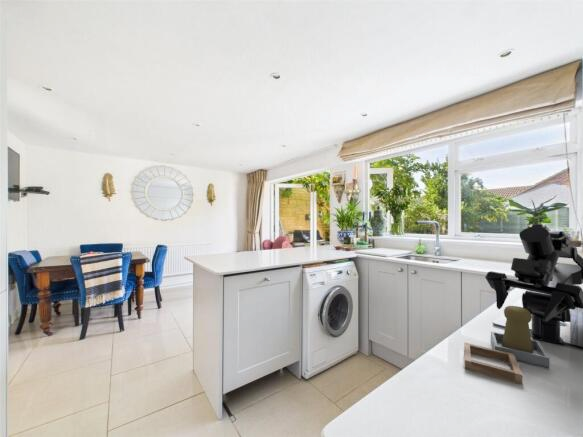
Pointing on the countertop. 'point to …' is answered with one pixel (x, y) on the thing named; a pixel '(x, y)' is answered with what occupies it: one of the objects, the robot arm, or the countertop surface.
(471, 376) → the countertop surface
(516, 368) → the walnut collar
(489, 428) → the countertop surface
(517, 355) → the grey square tray
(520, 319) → the olive flared post
